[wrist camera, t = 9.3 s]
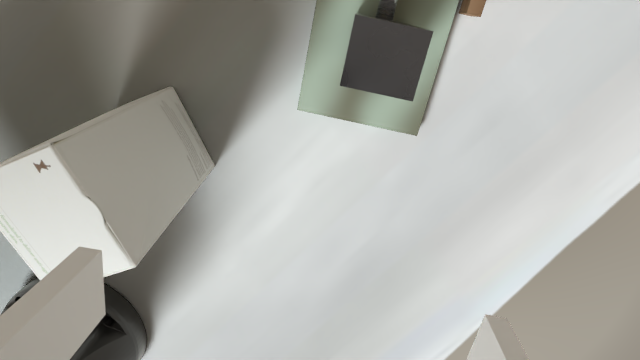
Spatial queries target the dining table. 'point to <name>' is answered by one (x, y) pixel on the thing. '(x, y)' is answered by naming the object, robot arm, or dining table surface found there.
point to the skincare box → (103, 185)
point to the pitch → (330, 53)
